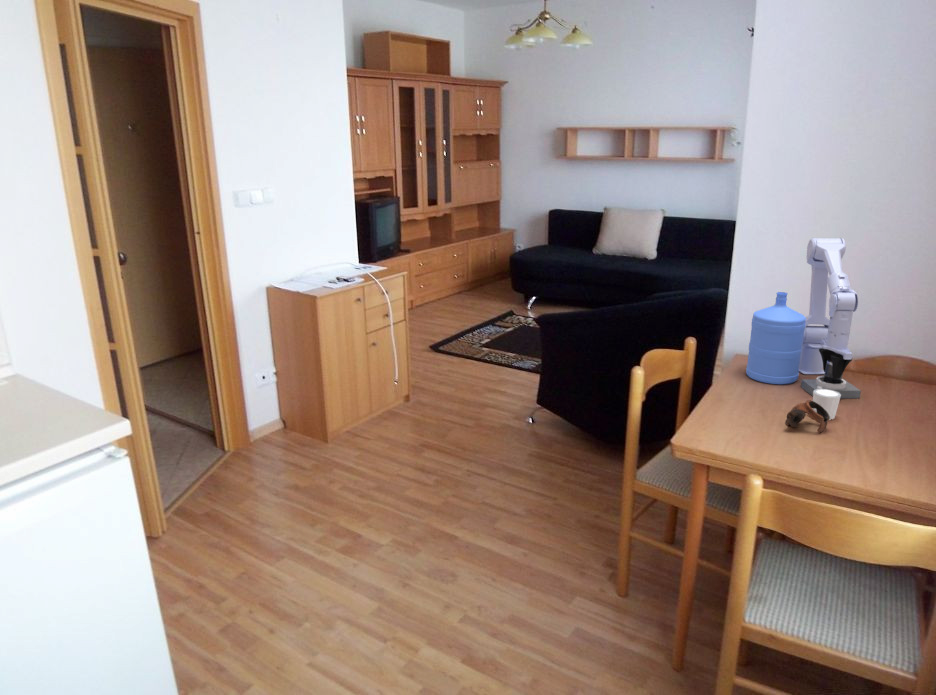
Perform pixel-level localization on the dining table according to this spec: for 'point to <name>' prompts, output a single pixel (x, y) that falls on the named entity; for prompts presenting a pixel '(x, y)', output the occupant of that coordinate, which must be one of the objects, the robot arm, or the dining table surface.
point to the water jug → (776, 343)
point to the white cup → (827, 400)
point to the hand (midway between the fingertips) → (832, 374)
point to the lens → (830, 374)
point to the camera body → (831, 387)
